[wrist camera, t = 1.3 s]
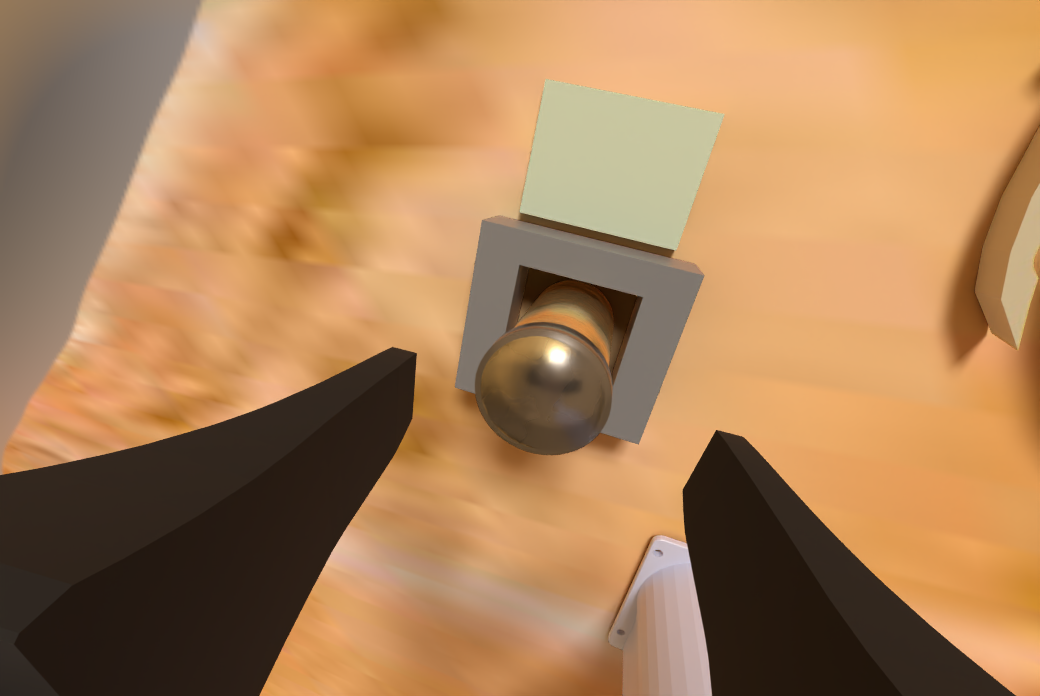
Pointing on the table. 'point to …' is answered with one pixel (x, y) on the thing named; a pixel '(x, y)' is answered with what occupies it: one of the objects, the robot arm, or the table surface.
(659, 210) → the mat
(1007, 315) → the wall ornament
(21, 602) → the robot arm
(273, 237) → the table surface
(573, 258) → the gray block
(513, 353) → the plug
